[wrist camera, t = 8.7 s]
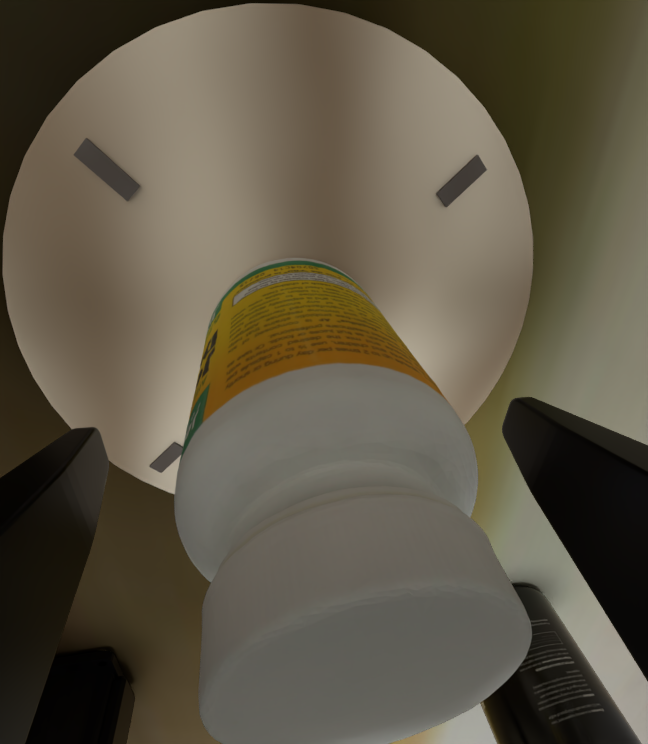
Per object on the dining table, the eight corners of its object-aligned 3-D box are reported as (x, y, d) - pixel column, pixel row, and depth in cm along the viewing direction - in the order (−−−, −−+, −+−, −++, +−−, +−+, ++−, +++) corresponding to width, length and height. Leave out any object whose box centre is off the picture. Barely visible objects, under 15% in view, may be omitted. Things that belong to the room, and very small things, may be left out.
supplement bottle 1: (376, 392, 14) (539, 726, 6) (227, 416, 14) (200, 812, 6) (374, 240, 12) (665, 497, 4) (187, 264, 11) (25, 628, 3)
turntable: (96, 513, 16) (89, 532, 15) (-100, -26, 8) (-136, -43, 7) (462, 476, 19) (471, 490, 18) (590, 42, 11) (617, 35, 10)
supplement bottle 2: (429, 635, 27) (538, 931, 17) (490, 575, 25) (662, 883, 15) (501, 642, 30) (633, 905, 20) (563, 588, 27) (753, 859, 17)
